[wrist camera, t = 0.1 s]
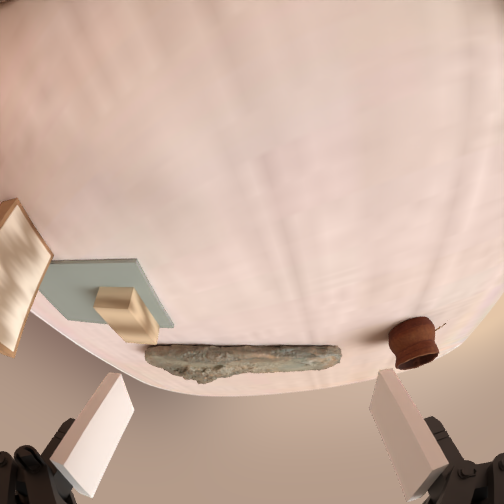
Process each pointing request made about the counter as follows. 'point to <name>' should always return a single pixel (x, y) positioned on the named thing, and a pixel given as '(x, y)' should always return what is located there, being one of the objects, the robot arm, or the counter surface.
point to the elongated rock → (239, 359)
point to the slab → (18, 272)
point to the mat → (96, 287)
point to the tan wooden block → (127, 314)
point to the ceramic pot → (413, 343)
